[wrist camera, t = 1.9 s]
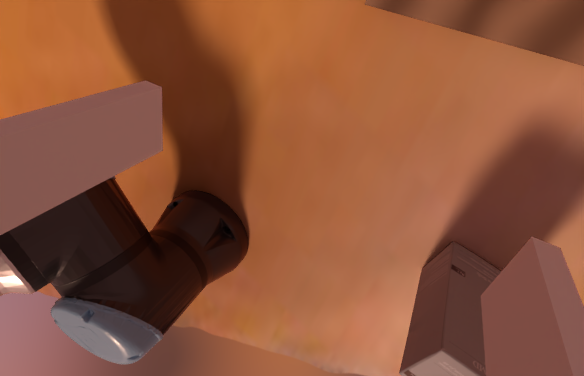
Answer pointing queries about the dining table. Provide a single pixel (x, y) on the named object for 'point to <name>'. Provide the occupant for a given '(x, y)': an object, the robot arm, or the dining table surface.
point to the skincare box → (449, 316)
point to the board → (506, 22)
